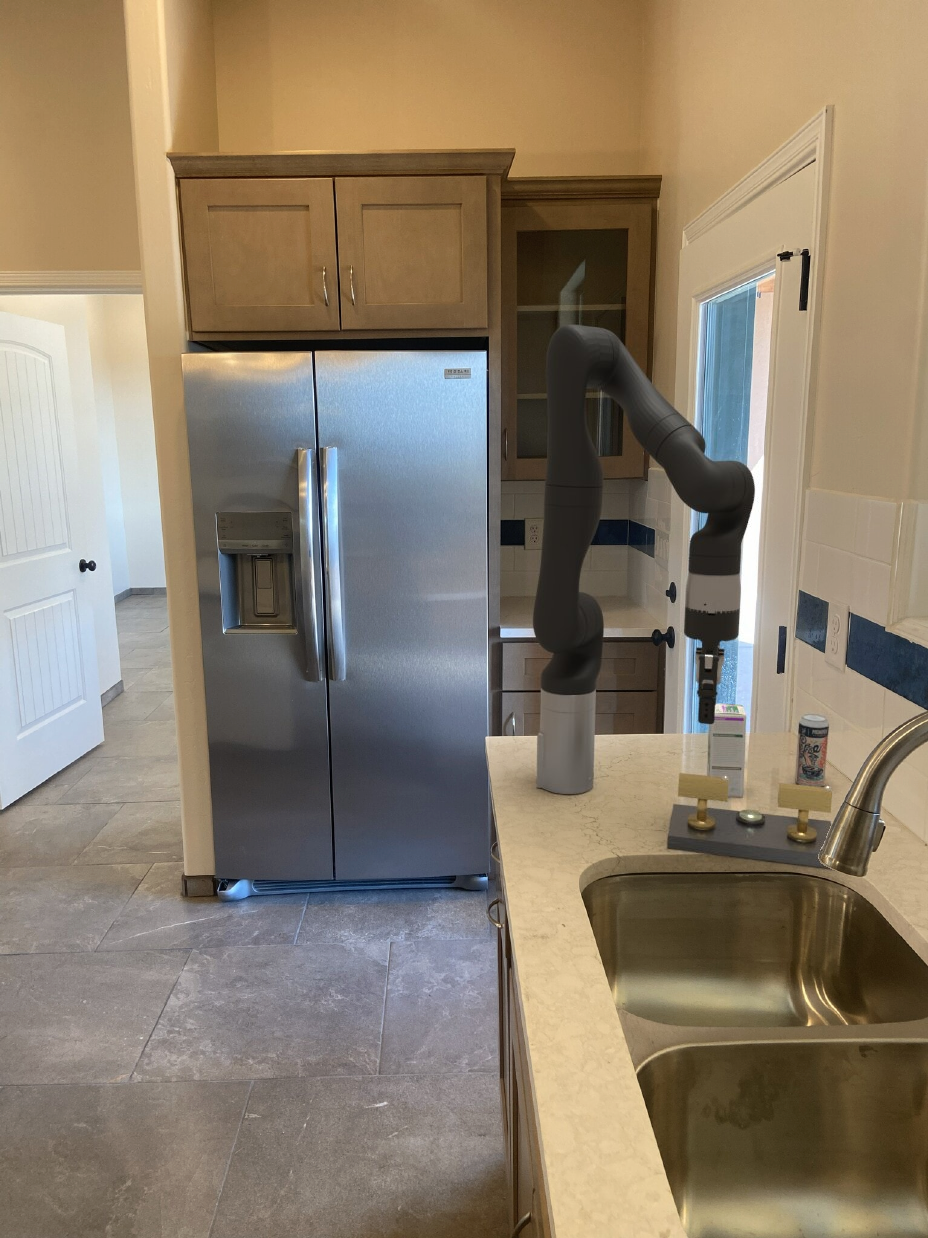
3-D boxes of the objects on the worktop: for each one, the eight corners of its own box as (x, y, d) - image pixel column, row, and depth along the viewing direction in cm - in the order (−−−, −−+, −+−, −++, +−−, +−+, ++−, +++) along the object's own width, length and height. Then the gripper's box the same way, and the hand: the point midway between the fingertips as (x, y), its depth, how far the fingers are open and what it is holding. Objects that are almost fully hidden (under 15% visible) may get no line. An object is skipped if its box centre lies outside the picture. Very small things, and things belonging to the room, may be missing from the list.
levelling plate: (667, 848, 130) (668, 829, 129) (673, 815, 141) (673, 797, 141) (837, 869, 123) (839, 849, 123) (829, 833, 135) (831, 814, 134)
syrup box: (743, 798, 148) (748, 714, 145) (706, 795, 149) (711, 712, 146) (740, 785, 153) (745, 704, 151) (704, 783, 155) (709, 702, 152)
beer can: (796, 788, 152) (801, 720, 150) (792, 778, 157) (797, 712, 154) (826, 790, 151) (831, 722, 149) (822, 780, 155) (827, 714, 153)
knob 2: (776, 839, 128) (780, 786, 126) (775, 827, 132) (779, 776, 130) (828, 845, 126) (833, 791, 124) (826, 833, 130) (830, 781, 128)
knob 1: (676, 827, 132) (678, 776, 130) (677, 816, 136) (680, 766, 134) (725, 833, 130) (728, 781, 128) (725, 822, 134) (728, 771, 132)
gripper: (687, 594, 134) (683, 699, 137) (682, 612, 121) (677, 727, 124) (740, 597, 132) (734, 702, 135) (740, 614, 119) (733, 731, 122)
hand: (707, 714), depth 130 cm, fingers open, 8 cm apart
